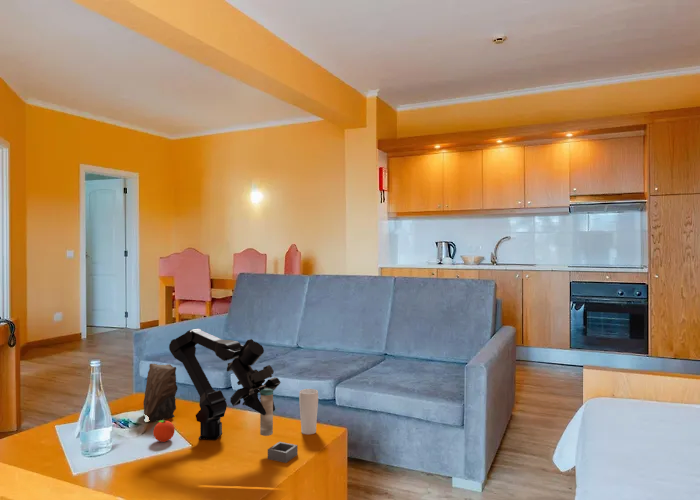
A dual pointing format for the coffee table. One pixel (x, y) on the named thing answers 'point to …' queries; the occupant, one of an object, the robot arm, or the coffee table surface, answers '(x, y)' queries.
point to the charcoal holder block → (282, 452)
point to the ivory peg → (266, 419)
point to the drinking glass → (308, 410)
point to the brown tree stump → (160, 392)
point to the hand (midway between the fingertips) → (269, 412)
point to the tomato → (163, 431)
